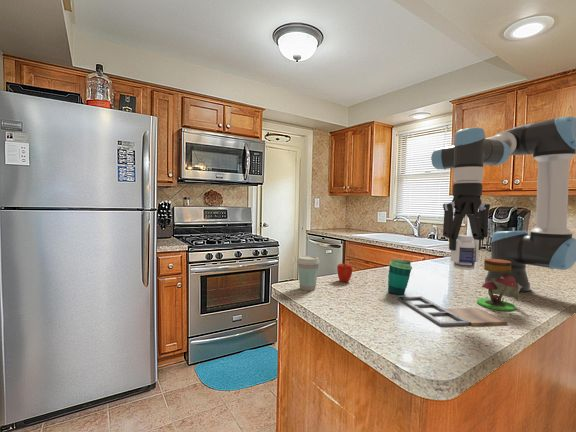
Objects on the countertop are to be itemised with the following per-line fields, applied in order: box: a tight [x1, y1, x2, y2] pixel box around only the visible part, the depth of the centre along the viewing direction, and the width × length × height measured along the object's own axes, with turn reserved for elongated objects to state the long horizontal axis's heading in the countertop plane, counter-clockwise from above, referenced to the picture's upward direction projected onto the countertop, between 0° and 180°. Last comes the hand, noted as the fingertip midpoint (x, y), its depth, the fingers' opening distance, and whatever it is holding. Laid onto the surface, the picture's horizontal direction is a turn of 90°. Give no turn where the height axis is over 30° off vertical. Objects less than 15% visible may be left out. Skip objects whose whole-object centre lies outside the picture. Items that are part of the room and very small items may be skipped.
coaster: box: [445, 307, 508, 327], centre depth 89 cm, size 11×11×1 cm
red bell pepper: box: [336, 263, 353, 283], centre depth 127 cm, size 6×6×8 cm
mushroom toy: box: [476, 258, 522, 312], centre depth 99 cm, size 12×13×15 cm
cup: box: [387, 258, 413, 296], centre depth 112 cm, size 8×8×12 cm
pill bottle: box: [453, 234, 476, 271], centre depth 89 cm, size 5×5×10 cm
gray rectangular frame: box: [397, 295, 471, 327], centre depth 93 cm, size 9×23×1 cm, turn 8°
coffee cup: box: [296, 255, 320, 292], centre depth 115 cm, size 9×8×12 cm
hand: (464, 261), depth 89 cm, fingers closed on pill bottle, 5 cm apart
